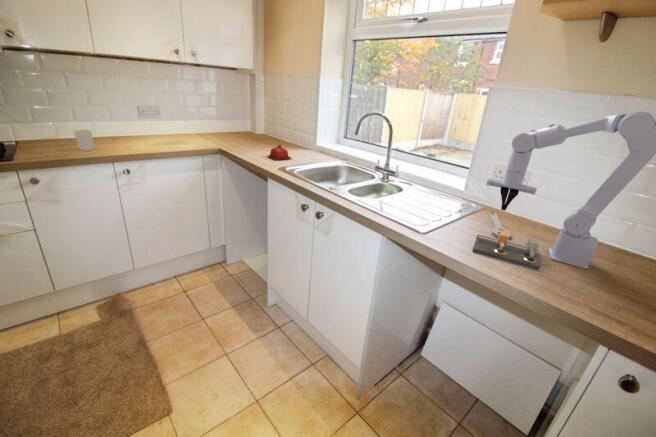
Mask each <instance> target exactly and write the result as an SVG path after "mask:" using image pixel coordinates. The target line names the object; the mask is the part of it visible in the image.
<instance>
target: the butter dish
mask: <svg viewBox="0 0 656 437" xmlns="http://www.w3.org/2000/svg"><path fill="white" fill-rule="evenodd" d="M267 157H269V158H271V159H273V160H276V161H284V160H285V161H286V160H290V159H292V157H290V156H289V152H288V149H287V148H285V147H283V146H282V144H277V146H275V147H272V148H271V149H270V152H269V154H267Z"/></svg>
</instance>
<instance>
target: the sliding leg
mask: <svg viewBox="0 0 656 437" xmlns="http://www.w3.org/2000/svg"><path fill="white" fill-rule="evenodd" d="M509 232H510V231H509ZM509 232H506V231H502V230H501V231H500V234H499V237H498V238H497V240H498V242H497V243H500V249H499V250H500V251H502V248H504V245H506V244H507V242H508V241H509V239H508V238H509Z"/></svg>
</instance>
